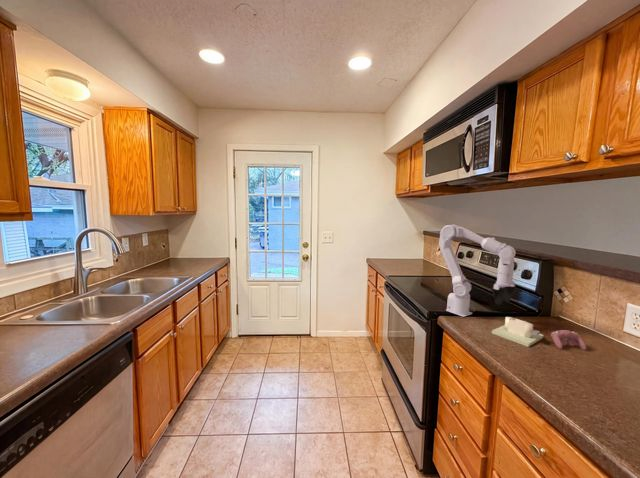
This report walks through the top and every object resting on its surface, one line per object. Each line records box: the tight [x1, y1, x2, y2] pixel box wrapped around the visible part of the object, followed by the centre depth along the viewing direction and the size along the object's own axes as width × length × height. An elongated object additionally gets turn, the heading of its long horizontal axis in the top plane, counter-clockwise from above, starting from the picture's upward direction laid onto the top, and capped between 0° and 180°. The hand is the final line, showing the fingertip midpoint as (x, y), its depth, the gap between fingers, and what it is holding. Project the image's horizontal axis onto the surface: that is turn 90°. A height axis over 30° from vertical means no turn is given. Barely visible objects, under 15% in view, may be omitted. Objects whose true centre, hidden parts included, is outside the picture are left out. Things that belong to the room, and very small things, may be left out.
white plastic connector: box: [504, 316, 541, 338], centre depth 112 cm, size 12×4×5 cm, turn 33°
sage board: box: [491, 324, 545, 348], centre depth 114 cm, size 13×14×1 cm
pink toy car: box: [550, 329, 587, 351], centre depth 105 cm, size 10×5×7 cm, turn 85°
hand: (502, 302), depth 125 cm, fingers open, 7 cm apart
